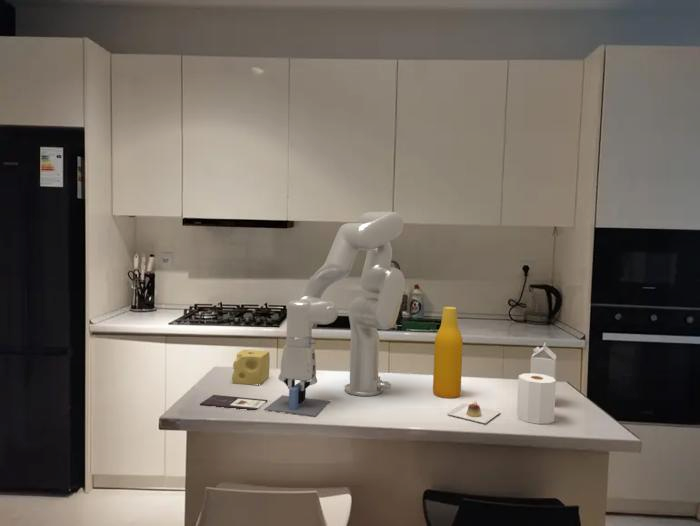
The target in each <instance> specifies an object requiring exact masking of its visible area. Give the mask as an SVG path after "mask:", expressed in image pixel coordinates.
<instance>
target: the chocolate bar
mask: <svg viewBox="0 0 700 526" xmlns="http://www.w3.org/2000/svg"><path fill="white" fill-rule="evenodd" d="M264 403H265V404H267V403H268V399H261V398H250V397H242V396H241V397H240V396H229V395H222V394H213V395H211V396H209V397H208V398H207V399H205V400H203V401H202V402H200V403H199V406H203V407H211V406H216V407H215V408H221V407H224V408H223V409H230V408H236V409H235V410H240V409H247V410H246V411H250V410H257V409H258V410H260V409H261V408H262V407H263V406H264V405H265V404H264ZM263 404H264V405H263ZM262 405H263V406H262ZM261 406H262V407H261ZM260 407H261V408H260ZM258 410H257V411H258Z"/></svg>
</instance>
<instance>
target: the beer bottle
mask: <svg viewBox="0 0 700 526" xmlns="http://www.w3.org/2000/svg"><path fill="white" fill-rule="evenodd" d="M463 345H464V342H463V336H462V333H461V332H460V329H459V325H458V312H457V307H453V306H444V307H443V309H442V317H441V323H440V326H439V329H438V331H437V332H436V334H435V338H434V347H433V348H434V354H433V380H432V393H433V395H434V396H436V397H440V398H443V399H456V398H459V397H461V393H462V371H463V370H462V369H463V368H462V367H463V362H462V361H463V349H464V348H463Z"/></svg>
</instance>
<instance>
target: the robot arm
mask: <svg viewBox="0 0 700 526" xmlns="http://www.w3.org/2000/svg"><path fill="white" fill-rule="evenodd" d="M404 226H405V225H404V219H403V217H402V216H401V214H399V213H397V212H395V211H368V212H365V213H362V214H361V215H360V217H359V219H358V222H348V223H344V224H342V225H341V226H340V228H339V229H338V231H337V233H336V235H335V239H334V240H333V242H332V245H331V248H330V250H329V252H328V255H327V258H326V260H325V262H324V264H323V265H322V266H321V267H320V268H318V270H317V271H316V272H314V274H313V275H312V276H311V277H310V278H309V279H308V280H307V282H306V283H305V286H304V287H303V290H302V292H301V294H300V297H299V299H298V300H297V299H296V300H290V301H288V303H287V306H286V308H287V310H286V337H285V338H286V339H285V340H286V341H285V345H284V346H283V350H282V354H281V360H280V361H281V363H280V372H279V375H278V380H279V381H281V382H282V383H284V384H285V385H286V386H287V389H288V393H289V392H290V389H291V388H292V387H294V386H295V385H296V381H299V382H300V391H299V398H298V403H299V404H301V403H302V402H303V401H304V400H305V389H306V390H307V388H308V387H309V386H312V385H316V384H317V383H318V378H317V362H316V361H317V360H316V350H315V346H314V345H316V343H317V340H316V339H315V338H313V335H312V331H313V330H312V329H313V325H329V324H332V323H334V322H335V321H336V320H337V318H338V316H339V308H338V305H336V303H334V302H333V301H331V300H328V299H324V298H322V296H323V294H324V292H325V291H326V290H327V289H328V288H329V287H330V286H331V285H333V284H334V283H336V282H338V281H340V280H343V279H346V277H348V276H349V275H350V273H351V272H352V269H353V266H354V263H355V261H356V258H357V256H358V254H359V251H366V256H365V257H366V258H365V261H364V265H363V269H362V272H361V276H360V287H361V289H362V290H363V291H364V292H366V293H368V294H372V295H378V298H376V297H370V296H359V297H355V298H354V299H353V300H351V302H350V303H349V307H348V320H349V324H350V325H349V326H350V357H349V383H347V384H346V385H345V386H344V391H345V392H346V393H347V394H350V395H354V396H358V397H359V396H360V397H371V396H377V395H380V394H381V393H383V389H385V390H390V389H391V386H392V385H391V383H390V382H389V381H387V380H385V381H384V380H381V376H379V367H380V365H379V361H380V360H379V359H380V335H379V331H378V330H381V331H382V330H383V331H385V330H390V329H391V328H392V327H393V326H394V325H395V324H396V322H397V320H398V317H399V312H400V309H401V305H402V301H403V296H404V292H405V286H406V282H405V280H406V279H405V276H404V274H403V272H402V271H401V270H400V269H398V268H397V267H393V266H391V263H392V258H393V249H392V245H391V242H392V240H395V239H396V238H397V237H399V236H400V235H401V233H402V232H403V229H404ZM390 241H391V242H390Z"/></svg>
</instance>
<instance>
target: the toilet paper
mask: <svg viewBox="0 0 700 526" xmlns="http://www.w3.org/2000/svg"><path fill="white" fill-rule="evenodd" d="M517 382H518V383H517V385H518V386H517V405H516V415H517V418H518V419H519V420H521V421H524V422H527V423H532V424H537V425H543V424H544V425H545V424H548V425H549V424H551V423H553V422H555V410H556V409H555V408H556V392H557V391H556V389H557V387H556V385H557V380H556V378H555V379H554V378H553V377H550V376H547V375H543V374H535V373H525V372H524V373H521V374H519V375H518V381H517Z"/></svg>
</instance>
